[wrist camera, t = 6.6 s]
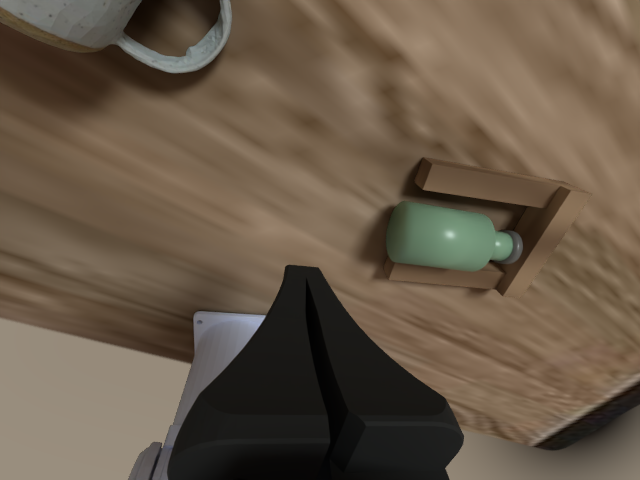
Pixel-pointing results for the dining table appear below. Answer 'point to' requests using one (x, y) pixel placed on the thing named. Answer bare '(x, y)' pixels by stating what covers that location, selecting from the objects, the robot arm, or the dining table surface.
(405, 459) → the robot arm
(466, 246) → the bottle
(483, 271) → the cradle
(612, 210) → the dining table surface
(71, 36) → the ceramic mug
